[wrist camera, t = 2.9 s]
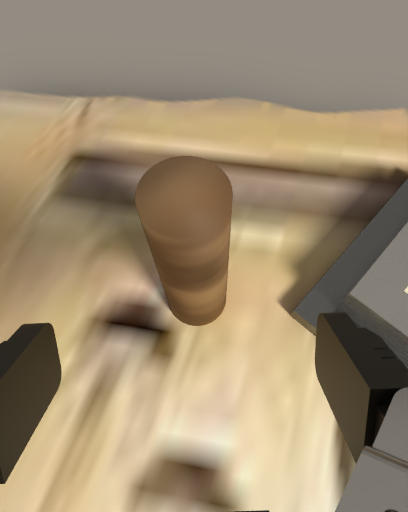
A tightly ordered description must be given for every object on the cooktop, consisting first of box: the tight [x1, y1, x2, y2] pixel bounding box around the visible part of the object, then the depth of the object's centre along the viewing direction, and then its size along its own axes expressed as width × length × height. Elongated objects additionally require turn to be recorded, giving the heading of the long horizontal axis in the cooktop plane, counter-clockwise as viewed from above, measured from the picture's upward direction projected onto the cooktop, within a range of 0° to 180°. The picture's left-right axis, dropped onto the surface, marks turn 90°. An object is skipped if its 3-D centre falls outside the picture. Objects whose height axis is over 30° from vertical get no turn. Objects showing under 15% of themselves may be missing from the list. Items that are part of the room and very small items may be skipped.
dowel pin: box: [135, 156, 233, 326], centre depth 19 cm, size 4×4×11 cm
